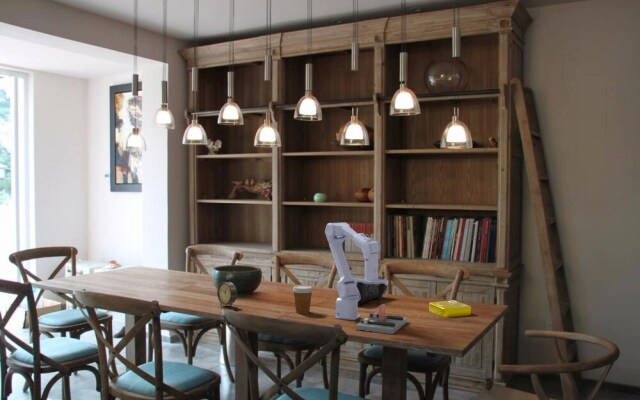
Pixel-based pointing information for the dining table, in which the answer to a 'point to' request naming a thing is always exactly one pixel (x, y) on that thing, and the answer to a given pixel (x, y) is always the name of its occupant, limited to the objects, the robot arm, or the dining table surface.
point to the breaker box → (381, 323)
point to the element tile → (449, 308)
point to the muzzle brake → (370, 292)
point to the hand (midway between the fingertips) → (371, 300)
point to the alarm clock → (227, 293)
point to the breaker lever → (382, 311)
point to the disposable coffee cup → (302, 298)
